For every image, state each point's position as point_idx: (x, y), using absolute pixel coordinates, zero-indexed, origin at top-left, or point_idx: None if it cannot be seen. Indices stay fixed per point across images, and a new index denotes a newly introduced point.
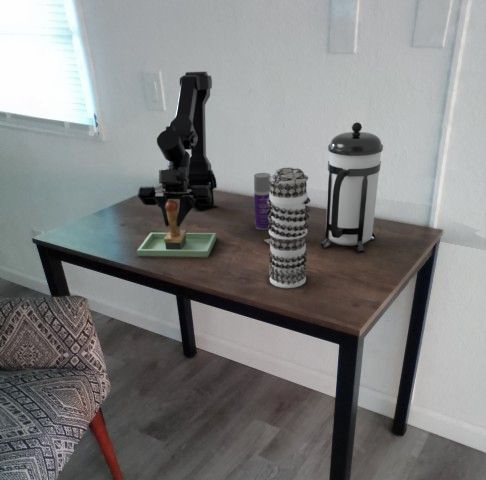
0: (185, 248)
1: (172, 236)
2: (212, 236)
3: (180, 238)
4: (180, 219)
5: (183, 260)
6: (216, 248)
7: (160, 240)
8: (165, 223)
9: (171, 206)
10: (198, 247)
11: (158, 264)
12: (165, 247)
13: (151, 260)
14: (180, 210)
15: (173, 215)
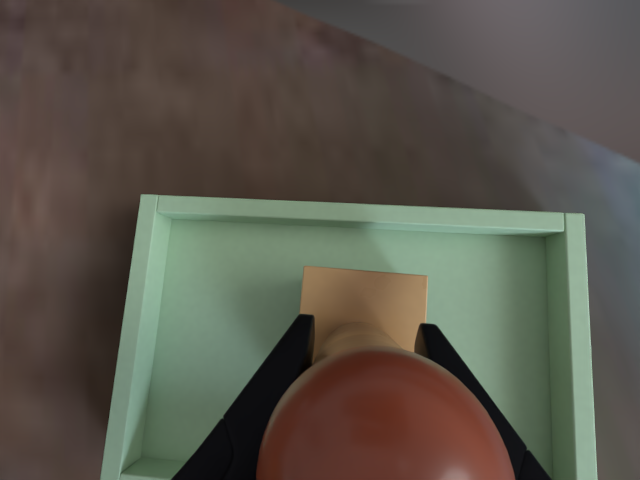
0: (295, 315)
1: (370, 324)
2: (119, 426)
3: (302, 282)
4: (269, 355)
5: (289, 189)
6: None
7: None
8: (437, 332)
9: (351, 366)
10: (219, 326)
11: (412, 142)
12: None
13: (465, 189)
14: (240, 447)
15: (339, 349)
